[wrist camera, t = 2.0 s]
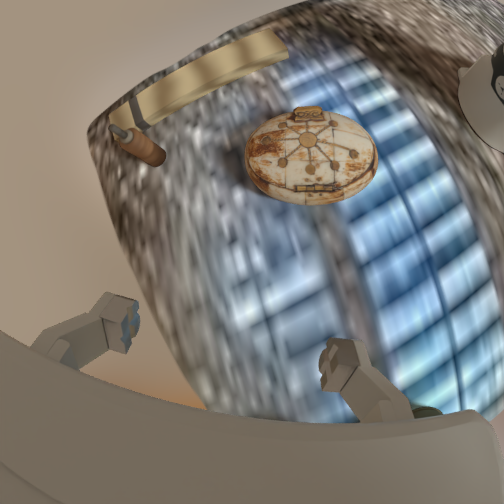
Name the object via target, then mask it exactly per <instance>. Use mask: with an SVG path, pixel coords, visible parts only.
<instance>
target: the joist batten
mask: <svg viewBox="0 0 504 504" xmlns="http://www.w3.org/2000/svg"><path fill="white" fill-rule="evenodd" d="M287 58H289V56H288V48H287V47H286V46H285V45H284V44H283V42H282V41H281V40H280V39H279V38H278V37H277V36H276V35H275V34H274V32H273V31H272V30H271V29H270V28H268V29H266V30H263V31H260V32H257V33H255V34H252V35H250V36H247V37H245V38H242V39H240V40H237V41H235V42H233V43H230V44H228V45H226V46H224V47H221V48H219V49H217V50H215V51H213V52H211V53H209V54H207V55H205V56H203V57H201V58H199V59H197V60H195V61H193V62H191V63H189V64H187V65H185V66H183V67H182V68H180V69H178V70H176V71H174V72H173V73H171V74H169V75H168V76H166V77H164V78H163V79H161V80H159V81H158V82H156V83H154V84H153V85H151V86H150V87H148V88H146V89H145V90H143V91H142V92H140V93H139V94H137V95H136V96H134V97H133V98H131V99H130V100H129V101H127V102H126V103H124V104H123V105H122V106H120V107H119V108H117V109H116V110H115V111H113V112H112V113H111V114H109V119H110V123H111V124H115V125H116V126H118V127H119V128H121V129H122V130H127V129H129V128H135V129H137V130H138V131H139V132H141V133H142V132H143V131H145V130H147V129H148V128H150V127H151V126H153V125H154V124H156V123H157V122H159V121H161V120H162V119H164V118H165V117H167V116H169V115H170V114H172V113H174V112H175V111H177V110H179V109H181V108H182V107H184V106H186V105H188V104H189V103H191V102H193V101H195V100H197V99H198V98H200V97H202V96H204V95H206V94H208V93H210V92H212V91H214V90H216V89H218V88H220V87H222V86H224V85H226V84H228V83H230V82H232V81H234V80H236V79H239V78H241V77H243V76H245V75H247V74H250V73H252V72H254V71H257V70H259V69H262V68H264V67H266V66H269V65H271V64H274V63H277V62H279V61H282V60H284V59H287ZM113 136H114V140H115V141H117V142H118V143H119V140H120V139H119V138H120V137H119V136H118V135H116V134H114V133H113Z"/></svg>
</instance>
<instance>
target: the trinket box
mask: <svg viewBox="0 0 504 504" xmlns="http://www.w3.org/2000/svg"><path fill="white" fill-rule="evenodd" d="M245 165H246V170H247V172H248V175H249V176H250V178H251V180H252V181H253V182H254V184H255V185H256V186H257V187H258V188H259V189H260V190H261V191H263V192H264V193H266V194H267V195H269V196H271V197H273V198H275V199H277V200H280V201H284V202H288V203H292V204H298V205H321V204H329V203H334V202H338V201H342V200H345V199H347V198H350V197H352V196H354V195H355V194H357V193H359V192H360V191H361V190H363V189H364V188H365V187H366V186H367V185H368V184H369V183H370V182H371V181H372V179H373V177H374V176H375V173H376V170H377V166H378V153H377V149H376V146H375V143H374V141H373V140H372V138H371V136H370V135H369V134H368V133H367V132H366V130H365V129H364V128H362V127H361V126H360V125H359V124H358V123H356V122H355V121H353V120H352V119H350V118H348V117H346V116H343V115H340V114H337V113H333V112H327V111H322V108H321V107H319V106H305V107H297V108H295V109H294V112H290V113H285V114H282V115H279V116H276V117H274V118H272V119H270V120H268V121H266V122H265V123H263V124H262V125H260V126H259V127H258V128H257V129H256V130H255V131H254V132H253V133H252V134H251V135H250V137H249V139H248V141H247V144H246V148H245Z"/></svg>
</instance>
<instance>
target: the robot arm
mask: <svg viewBox="0 0 504 504" xmlns="http://www.w3.org/2000/svg"><path fill="white" fill-rule="evenodd" d="M458 77H459V80H460V84H459V88H458V98H459V102H460V105H461V108H462V111H463V113H464V115H465V117H466V119H467V120H468V122H469V123H470V125H471V126H472V128H473V129H474V130H475V132H476V133H477V134H478V135H479V136H480V137H481V138H482V139H483V140H484V141H485V142H486V143H487V144H488V145H490V146H491V147H493V148H494V149H496V150H498V151H501V152H503V153H504V43H503V44H501V45H500V46H499V47H498V48H497V49H496V50H495V53H494V54H493V55H492V56H489V55H481V56H480V57H479V58H478V60H477V61H476V62H475V63H474V64H473V65H472V66H471V67H470V68H465V67H461V68H460V69H459V70H458ZM138 309H139V303H138V301H137V300H134V299H130V298H127V297H124V296H120V295H115V294H113V293H110V292H105V293H104V294H103V295H102V297H101V298H100V299H99V300H98V302H97V303H96V304H95V305H94V307H93V308H92V309H91V311H90V312H89V313H84V314H81V315H79V316H77V317H74V318H72V319H69V320H67V321H64V322H62V323H59V324H57V325H54V326H52V327H49V328H47V329H45V330H43V331H42V332H41V334H40V335H39V336H38V338H37V339H36V340H35V341H34V343H33V344H32V345H31V347H28V346H27V345H24V344H23V343H21V342H19V341H17V340H16V339H14V338H12V337H11V336H9V335H7V334H6V333H4V332H2V331H1V330H0V504H504V459H503V456H502V452H501V448H500V445H499V442H498V438H497V435H496V433H495V431H494V428H493V427H492V425H491V424H490V423H489V422H488V421H487V420H486V419H485V418H484V417H482V416H481V415H480V414H479V413H478V412H476V411H475V410H472V409H469V410H463V411H459V412H454V413H449V414H443V415H438V416H432V417H425V418H418V419H414V416H413V412H412V409H411V406H410V403H409V400H408V398H407V397H406V396H405V395H404V394H403V393H402V392H401V391H399V390H398V389H397V388H396V387H395V386H394V385H393V384H392V383H391V382H390V381H389V380H388V379H387V378H386V377H384V376H383V375H382V374H381V373H380V372H379V371H378V370H377V369H376V368H375V367H372V366H371V363H370V360H369V357H368V354H367V351H366V348H365V345H364V342H363V341H362V340H354V339H342V338H333V337H330V338H329V339H328V341H327V343H326V346H327V348H326V349H324V350H323V351H322V353H321V355H320V359H319V371H320V372H321V374H322V377H321V379H320V381H321V388H322V391H328V392H340V395H341V396H342V397H343V399H344V400H345V401H346V403H347V404H348V405H349V407H350V408H351V409H352V411H353V412H354V414H355V415H356V416H357V418H358V419H359V420H360V423H305V422H289V421H277V420H267V419H259V418H251V417H244V416H237V415H231V414H225V413H219V412H214V411H209V410H204V409H199V408H194V407H190V406H185V405H181V404H177V403H173V402H169V401H166V400H161V399H158V398H155V397H151V396H148V395H144V394H141V393H138V392H135V391H132V390H129V389H125V388H123V387H120V386H117V385H114V384H111V383H108V382H106V381H103V380H100V379H98V378H95V377H93V376H90V375H87V374H85V373H83V372H80V370H79V369H80V368H82V367H83V366H85V365H87V364H88V363H89V362H91V361H93V360H94V359H96V358H97V357H99V356H100V355H102V354H103V353H105V352H107V351H108V350H109V349H110V350H113V351H116V352H120V353H123V354H127V352H128V350H129V348H130V346H131V344H132V342H131V338H133V337H135V336H136V334H137V332H138V330H139V326H140V316H139V314H138V313H137V311H138Z"/></svg>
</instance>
